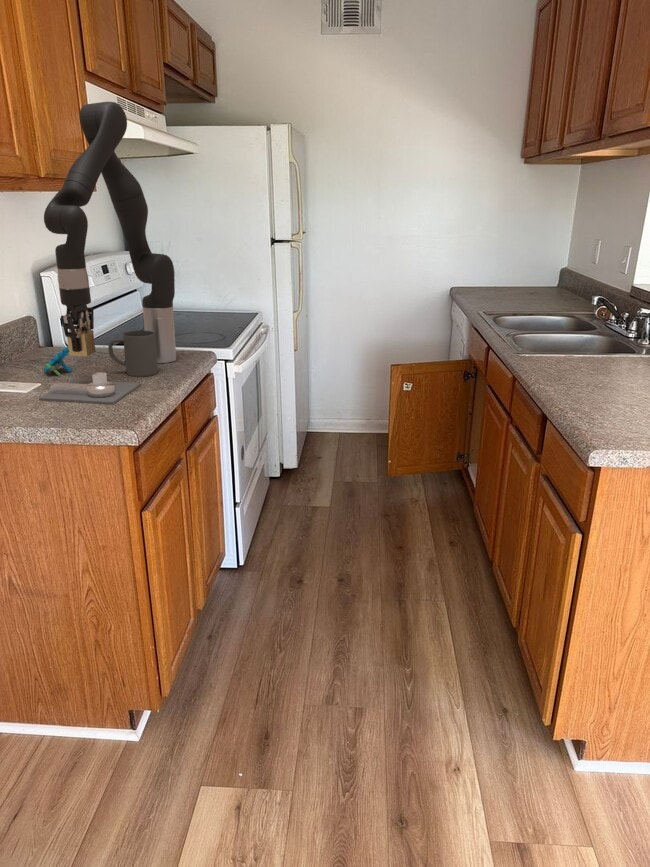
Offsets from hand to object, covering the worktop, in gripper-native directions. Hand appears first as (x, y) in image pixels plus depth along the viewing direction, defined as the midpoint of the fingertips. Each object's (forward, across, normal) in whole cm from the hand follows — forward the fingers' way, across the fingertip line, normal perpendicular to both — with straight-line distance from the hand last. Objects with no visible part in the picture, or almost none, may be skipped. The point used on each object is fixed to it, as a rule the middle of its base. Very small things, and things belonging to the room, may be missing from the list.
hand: (82, 348), depth 174 cm
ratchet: (+10, +9, +4) cm, 14 cm away
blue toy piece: (+11, -12, -15) cm, 21 cm away
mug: (+11, -15, +8) cm, 20 cm away
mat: (+10, +6, +5) cm, 13 cm away
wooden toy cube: (+1, 0, 0) cm, 1 cm away
